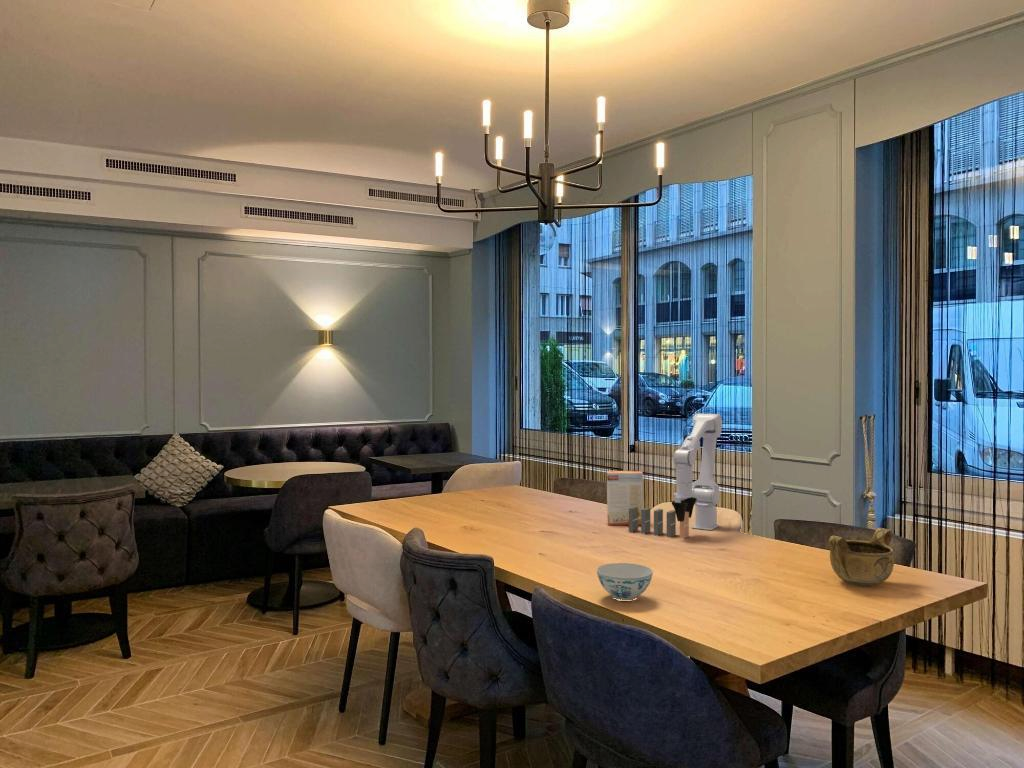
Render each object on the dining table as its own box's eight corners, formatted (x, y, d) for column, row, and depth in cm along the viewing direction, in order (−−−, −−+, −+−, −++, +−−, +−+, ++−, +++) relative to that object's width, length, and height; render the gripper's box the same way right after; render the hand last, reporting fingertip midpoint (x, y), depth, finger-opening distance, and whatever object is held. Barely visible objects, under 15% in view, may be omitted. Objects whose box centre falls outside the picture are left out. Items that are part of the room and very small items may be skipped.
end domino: (634, 529, 294) (634, 506, 294) (638, 530, 294) (638, 506, 293) (628, 532, 290) (628, 508, 290) (632, 532, 289) (632, 508, 289)
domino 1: (646, 531, 292) (646, 507, 292) (650, 531, 291) (650, 507, 291) (641, 533, 288) (641, 509, 287) (645, 534, 287) (645, 510, 286)
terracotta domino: (684, 535, 284) (684, 511, 283) (688, 536, 283) (688, 511, 282) (679, 538, 279) (679, 513, 279) (684, 538, 278) (684, 514, 278)
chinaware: (663, 597, 209) (663, 569, 208) (632, 610, 198) (632, 580, 197) (617, 587, 219) (617, 559, 218) (585, 599, 208) (585, 570, 207)
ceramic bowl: (863, 572, 233) (863, 523, 233) (914, 586, 218) (914, 534, 217) (809, 581, 223) (810, 530, 223) (859, 597, 208) (859, 542, 208)
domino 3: (671, 534, 286) (671, 510, 286) (675, 534, 285) (675, 510, 285) (666, 536, 282) (666, 512, 282) (670, 537, 281) (670, 512, 281)
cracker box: (642, 522, 307) (642, 470, 306) (643, 526, 301) (643, 472, 300) (606, 522, 308) (606, 470, 308) (607, 525, 302) (607, 472, 302)
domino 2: (658, 532, 289) (658, 508, 289) (663, 533, 288) (663, 509, 288) (653, 535, 285) (653, 510, 285) (657, 535, 284) (657, 511, 284)
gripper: (680, 478, 289) (680, 514, 289) (666, 484, 277) (666, 521, 277) (699, 480, 285) (699, 516, 285) (685, 485, 273) (685, 523, 273)
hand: (684, 519), depth 281 cm, fingers open, 7 cm apart
